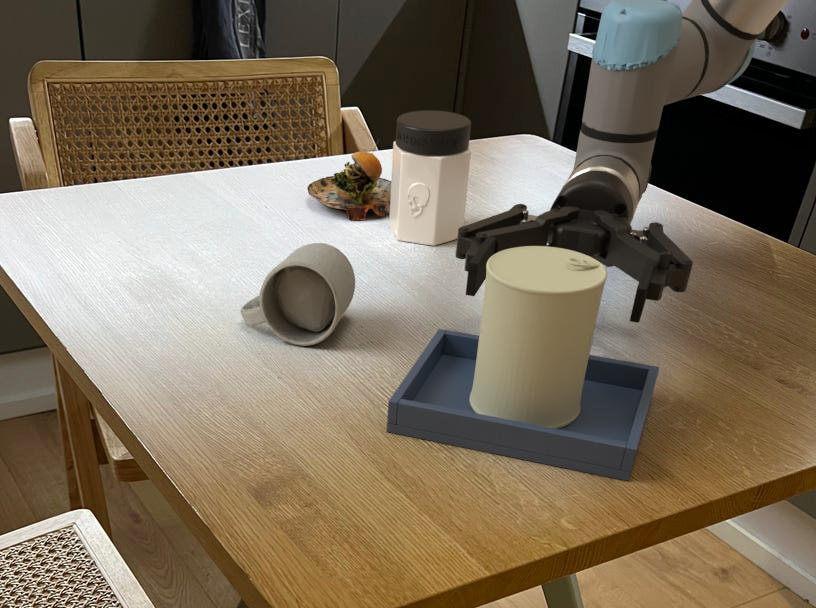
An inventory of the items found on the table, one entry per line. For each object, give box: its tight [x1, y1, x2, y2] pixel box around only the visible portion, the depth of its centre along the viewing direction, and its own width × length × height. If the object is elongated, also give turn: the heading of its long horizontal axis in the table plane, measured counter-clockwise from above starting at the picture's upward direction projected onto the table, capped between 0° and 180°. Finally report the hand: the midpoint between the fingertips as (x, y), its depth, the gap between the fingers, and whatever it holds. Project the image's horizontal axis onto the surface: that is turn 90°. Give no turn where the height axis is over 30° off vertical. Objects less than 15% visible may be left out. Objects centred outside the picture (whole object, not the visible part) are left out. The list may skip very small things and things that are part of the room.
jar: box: [388, 110, 472, 247], centre depth 109 cm, size 9×8×12 cm
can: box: [470, 246, 608, 429], centre depth 77 cm, size 9×9×12 cm
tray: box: [386, 328, 660, 482], centre depth 81 cm, size 20×15×3 cm
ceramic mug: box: [239, 242, 356, 347], centre depth 91 cm, size 11×8×8 cm
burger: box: [306, 138, 391, 222], centre depth 118 cm, size 12×12×8 cm
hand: (552, 292), depth 78 cm, fingers open, 13 cm apart
